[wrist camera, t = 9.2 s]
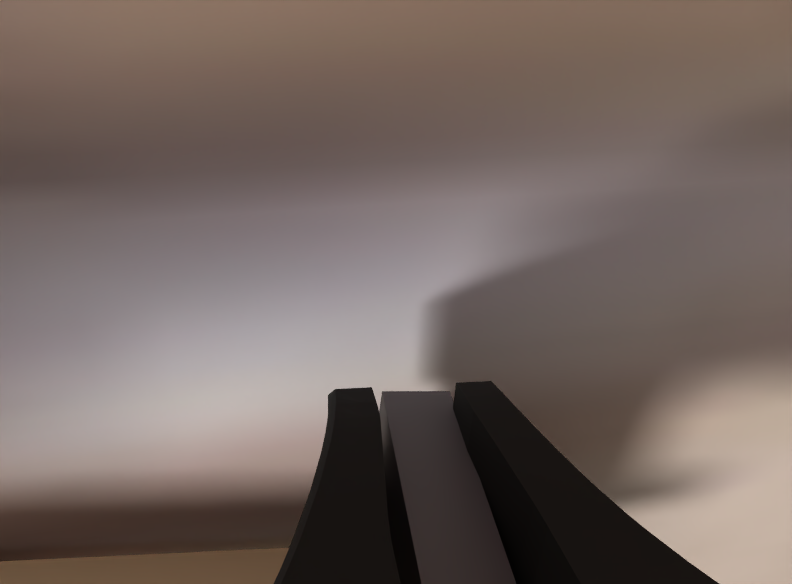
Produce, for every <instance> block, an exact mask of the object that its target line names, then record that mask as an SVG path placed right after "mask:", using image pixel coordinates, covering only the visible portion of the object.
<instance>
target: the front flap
mask: <svg viewBox="0 0 792 584" xmlns="http://www.w3.org/2000/svg"><path fill="white" fill-rule="evenodd" d="M453 404H454V403H453V400H452V397H451V394H450V391H382V397H381V404H380V411H379V414H380V420H381V432H382V444H383V457H384V470H385V483H386V496H387V509H388V519H389V527H390V534H391V541H392V546H393V551H394V555H395V560H396V565H397V569H398V574H399V579H400V583H401V584H516V581H515V578H514V575H513V573H512V570H511V567H510V564H509V561H508V558H507V555H506V552H505V549H504V547H503V544H502V541H501V538H500V535H499V532H498V529H497V526H496V524H495V521H494V518H493V515H492V512H491V509H490V506H489V503H488V500H487V498H486V495H485V492H484V489H483V486H482V483H481V480H480V478H479V475H478V473H477V471H476V469H475V467H474V464H473V462H472V460H471V458H470V456H469V454H468V451H467V448H466V446H465V443H464V440H463V437H462V434H461V431H460V428H459V425H458V422H457V419H456V416H455V413H454V410H453ZM288 550H289V547H288V548H268V549H247V550H226V551H205V552H184V553H163V554H142V555H122V556H101V557H80V558H59V559H38V560H17V561H0V584H274V582H275V580H276V577H277V575H278V573H279V571H280V568H281V566H282V564H283V561H284V559H285V557H286V554H287V552H288Z"/></svg>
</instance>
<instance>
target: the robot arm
mask: <svg viewBox="0 0 792 584" xmlns="http://www.w3.org/2000/svg"><path fill="white" fill-rule="evenodd" d="M453 410H454V413H455V416H456V419H457V422H458V425H459V428H460V431H461V434H462V437H463V440H464V443H465V446H466V448H467V451H468V454H469V456H470V458H471V460H472V462H473V464H474V467H475V469H476V471H477V473H478V475H479V478H480V480H481V483H482V486H483V489H484V492H485V495H486V498H487V500H488V503H489V506H490V509H491V512H492V515H493V518H494V521H495V524H496V526H497V529H498V532H499V535H500V538H501V541H502V544H503V547H504V549H505V552H506V555H507V558H508V561H509V564H510V567H511V570H512V573H513V575H514V578H515V581H516V584H719V583H717V582H716V581H714V580H713V579H712V578H710V577H709V576H707V575H706V574H705V573H703V572H702V571H700V570H699V569H698V568H696V567H695V566H693V565H692V564H691V563H689V562H688V561H686V560H685V559H684V558H683V557H681V556H680V555H679V554H677V553H676V552H675V551H673V550H672V549H671V548H669V547H668V546H667V545H666V544H664V543H663V542H662V541H660V540H659V539H658V538H656V537H655V536H654V535H652V534H651V533H650V532H649V531H647V530H646V529H645V528H644V527H642V526H641V525H640V524H639V523H637V522H636V521H635V520H634V519H632V518H631V517H630V516H629V515H628V514H626V513H625V512H624V511H623V510H622V509H621V508H620V507H618V506H617V505H616V504H615V503H614V502H613V501H612V500H610V499H609V498H608V497H607V496H606V495H605V494H604V493H602V492H601V491H600V490H599V489H598V488H597V487H596V486H595V485H593V484H592V483H591V482H590V481H589V480H588V479H587V478H586V477H585V476H584V475H583V474H582V473H581V472H580V471H579V470H578V469H577V468H575V467H574V466H573V465H572V464H571V463H570V462H569V461H568V460H567V459H566V458H565V457H564V456H563V455H562V454H561V453H560V452H559V451H558V450H557V449H556V448H555V447H554V446H553V445H552V444H551V443H550V442H549V441H548V440H547V439H546V438H545V437H544V436H543V435H542V434H541V433H540V432H539V431H538V430H537V429H536V428H535V427H534V426H533V425H532V424H531V422H530V421H529V420H528V419H527V418H526V417H525V416H524V415H523V414H522V413H521V412H520V411H519V410H518V409H517V408H516V407H515V406H514V405H513V404H512V402H511V401H510V400H509V399H508V398H507V397H506V396H505V395H504V394H503V393H502V392H501V391H500V390H499V389H498V388H497V387H496V386H495V385H494V384H493V383H492V382H491V381H485V382H466V383H456V389H455V396H454V404H453ZM274 584H401V583H400V579H399V574H398V569H397V565H396V560H395V555H394V551H393V546H392V541H391V534H390V527H389V519H388V509H387V496H386V483H385V470H384V457H383V444H382V432H381V420H380V414H379V410H378V406H377V403H376V399H375V396H374V393H373V390H372V387H370V388H351V389H335V390H334V391H333V392H331V393H330V394H329V395H328V420H327V427H326V433H325V438H324V442H323V447H322V451H321V455H320V459H319V462H318V466H317V469H316V473H315V476H314V480H313V484H312V487H311V490H310V493H309V496H308V499H307V502H306V504H305V507H304V510H303V513H302V515H301V518H300V521H299V524H298V526H297V529H296V532H295V535H294V537H293V540H292V542H291V545H290V547H289V550H288V552H287V554H286V557H285V559H284V561H283V564H282V566H281V568H280V571H279V573H278V575H277V577H276V580H275V582H274Z"/></svg>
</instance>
